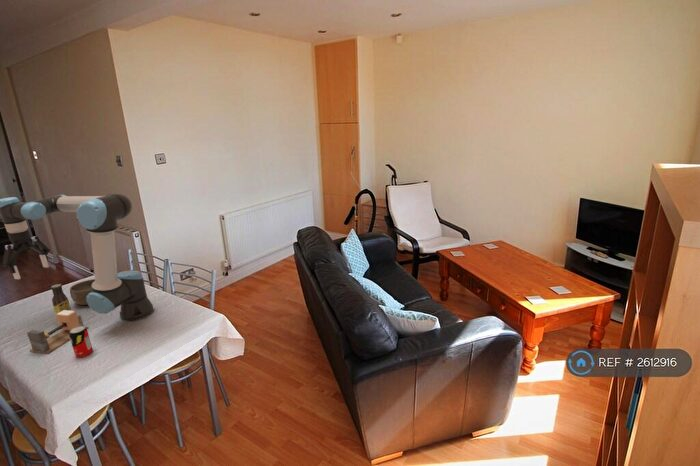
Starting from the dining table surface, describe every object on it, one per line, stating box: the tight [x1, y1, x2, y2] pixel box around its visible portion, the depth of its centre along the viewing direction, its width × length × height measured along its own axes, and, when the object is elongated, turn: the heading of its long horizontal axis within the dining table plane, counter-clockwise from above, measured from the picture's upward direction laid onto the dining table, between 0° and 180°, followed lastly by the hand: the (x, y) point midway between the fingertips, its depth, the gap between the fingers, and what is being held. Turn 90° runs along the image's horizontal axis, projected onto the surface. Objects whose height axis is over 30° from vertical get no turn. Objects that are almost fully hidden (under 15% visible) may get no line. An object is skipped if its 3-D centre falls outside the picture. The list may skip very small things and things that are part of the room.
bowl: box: [69, 278, 95, 306], centre depth 201 cm, size 17×18×10 cm
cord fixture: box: [26, 314, 89, 355], centre depth 166 cm, size 20×10×10 cm, turn 168°
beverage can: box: [69, 325, 93, 358], centre depth 155 cm, size 6×6×12 cm
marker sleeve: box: [55, 310, 80, 330], centre depth 171 cm, size 7×4×8 cm, turn 78°
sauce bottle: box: [50, 283, 72, 316], centre depth 179 cm, size 6×6×20 cm
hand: (32, 272), depth 176 cm, fingers open, 13 cm apart
